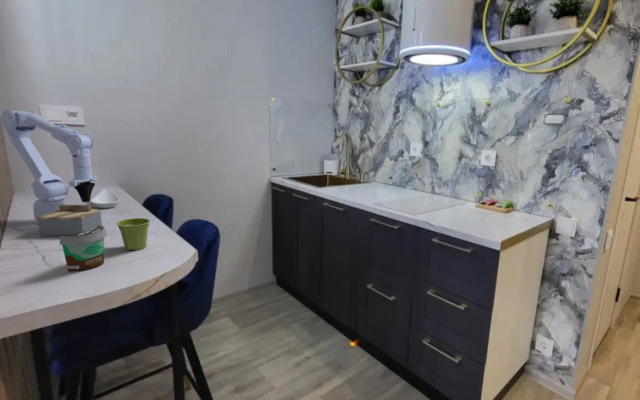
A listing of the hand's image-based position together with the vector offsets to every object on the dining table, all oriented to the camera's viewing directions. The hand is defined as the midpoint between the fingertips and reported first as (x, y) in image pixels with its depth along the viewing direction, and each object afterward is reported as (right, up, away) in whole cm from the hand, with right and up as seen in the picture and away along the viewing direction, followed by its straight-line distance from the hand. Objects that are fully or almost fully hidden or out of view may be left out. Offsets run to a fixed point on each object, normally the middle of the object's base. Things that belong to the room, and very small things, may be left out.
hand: (86, 201), depth 130 cm
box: (+1, -11, -8) cm, 13 cm away
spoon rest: (-14, -2, +35) cm, 38 cm away
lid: (+1, -5, -9) cm, 10 cm away
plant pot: (+31, -15, -21) cm, 40 cm away
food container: (+27, -18, -36) cm, 49 cm away
